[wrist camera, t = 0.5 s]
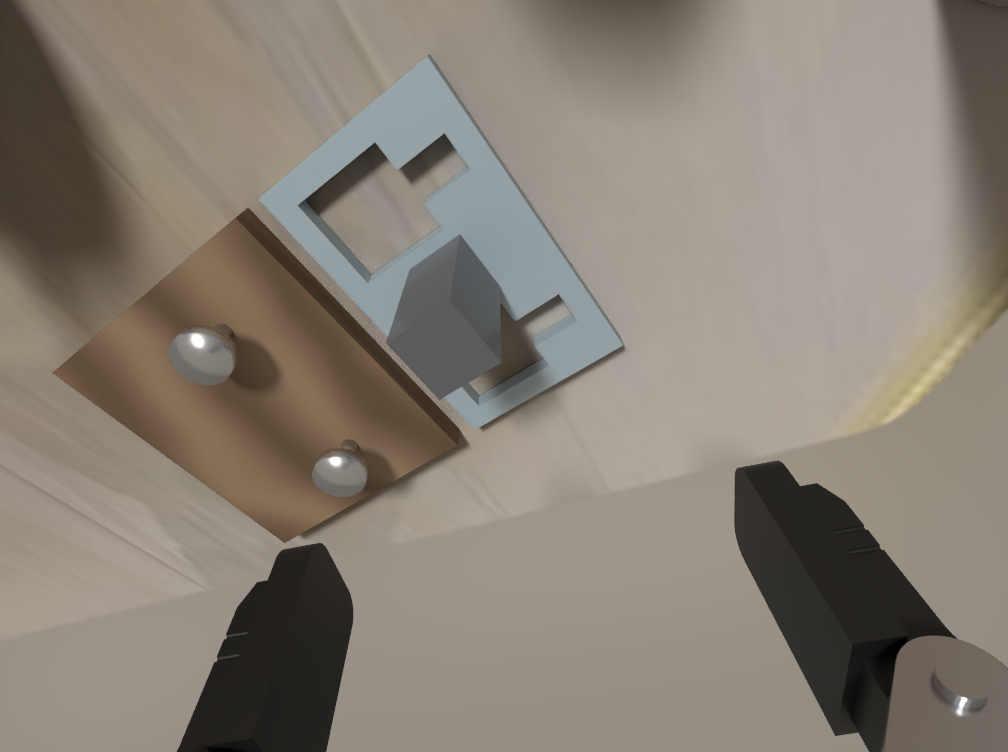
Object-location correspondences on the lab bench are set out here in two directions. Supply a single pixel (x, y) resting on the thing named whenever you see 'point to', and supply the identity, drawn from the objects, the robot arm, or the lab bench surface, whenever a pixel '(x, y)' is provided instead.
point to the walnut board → (260, 384)
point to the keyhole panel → (453, 212)
